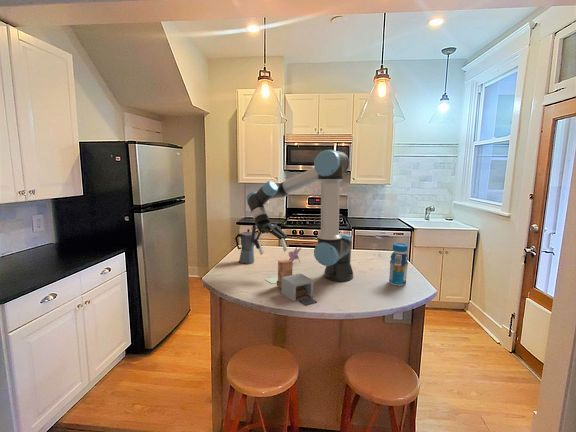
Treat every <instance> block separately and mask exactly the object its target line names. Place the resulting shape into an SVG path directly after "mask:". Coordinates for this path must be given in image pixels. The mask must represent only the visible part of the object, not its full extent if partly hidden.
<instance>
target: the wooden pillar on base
mask: <svg viewBox="0 0 576 432" xmlns="http://www.w3.org/2000/svg"><path fill="white" fill-rule="evenodd" d="M293 262H294V261H293ZM293 262H292V261H290V260H289V259H287V258H285V259H279V260H277V277H278V281H277V283H276V286H277V288H280V289H281V286H282V277H285V276H290V275H293V266H294V265H293ZM305 295H307V294H306V289H304V288H302V287H301V286H296V298H297V297H301V296H305Z"/></svg>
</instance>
